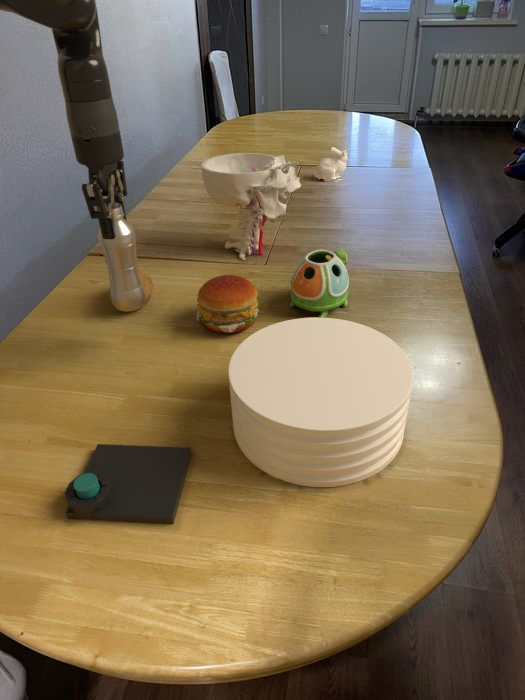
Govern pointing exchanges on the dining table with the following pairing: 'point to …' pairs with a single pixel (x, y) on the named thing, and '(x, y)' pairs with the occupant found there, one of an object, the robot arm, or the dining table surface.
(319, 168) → the rabbit
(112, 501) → the scale
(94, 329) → the dining table surface
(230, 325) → the burger
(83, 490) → the button
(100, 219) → the robot arm
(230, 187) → the skull
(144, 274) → the potato
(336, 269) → the turtle holder
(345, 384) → the plate stack
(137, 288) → the plastic bottle
